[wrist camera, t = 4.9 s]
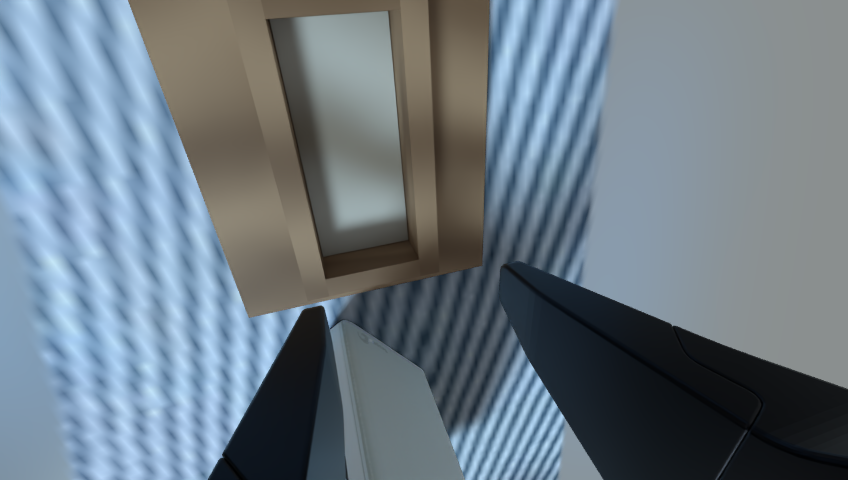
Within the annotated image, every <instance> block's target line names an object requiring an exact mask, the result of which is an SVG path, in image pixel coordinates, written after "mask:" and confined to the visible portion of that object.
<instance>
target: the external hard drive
mask: <svg viewBox="0 0 848 480" xmlns="http://www.w3.org/2000/svg"><path fill="white" fill-rule="evenodd" d="M330 333H331V338H332V343H333V349H334V355H335V361H336V367H337V373H338V379H339V386H340V392H341V398H342V405H343V416H344V440H345V457H346V464H347V472H348V479H349V480H465V478H464V476H463V473H462V470H461V468H460V465H459V462H458V460H457V457H456V455H455V452H454V449H453V447H452V444H451V441H450V439H449V436H448V434H447V431H446V428H445V426H444V423H443V420H442V418H441V415H440V413H439V410H438V407H437V405H436V402H435V399H434V397H433V394H432V391H431V389H430V386H429V384H428V381H427V379H426V376H425V373H424V371H423V370H422V369H421V368H420V367H418V366H417V365H415V364H414V363H412V362H411V361H409V360H408V359H406V358H405V357H403V356H402V355H400V354H399V353H397V352H396V351H394V350H393V349H391V348H390V347H388V346H387V345H385V344H384V343H383V342H381V341H380V340H378V339H377V338H375V337H374V336H372V335H370V334H369V333H368V332H366V331H364V330H363V329H361V328H360V327H358V326H357V325H355V324H354V323H352V322H350V321H347V320H342V321H341V322H339V323H337V324H336V325H335V326H334V327H333V328H332V329H330Z"/></svg>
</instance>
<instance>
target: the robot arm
mask: <svg viewBox="0 0 848 480" xmlns="http://www.w3.org/2000/svg"><path fill="white" fill-rule="evenodd" d="M499 297H500V301H501V304H502V306H503V308H504V310H505V312H506V314H507V316H508V318H509V320H510V322H511V325H512V327H513V329H514V331H515V333H516V335H517V337H518V339H519V341H520V343H521V345H522V348H523V350H524V352H525V354H526V355H527V357H528V359H529V361H530V363H531V364H532V366H533V368H534V369H535V371H536V372H537V374H538V376H539V377H540V379H541V380H542V382H543V384H544V385H545V387H546V388H547V390H548V392H549V393H550V395H551V396H552V398H553V400H554V401H555V403H556V404H557V406H558V408H559V409H560V411H561V412H562V414H563V416H564V417H565V419H566V420H567V422H568V423H569V425H570V427H571V428H572V430H573V431H574V433H575V435H576V436H577V438H578V440H579V441H580V443H581V444H582V446H583V448H584V449H585V451H586V452H587V454H588V456H589V457H590V459H591V460H592V462H593V464H594V465H595V467H596V468H597V470H598V472H599V473H600V475H601V476H602V478H603V480H848V389H846V388H844V387H840V386H838V385H835V384H832V383H829V382H826V381H824V380H821V379H818V378H815V377H812V376H809V375H806V374H803V373H801V372H797V371H795V370H792V369H789V368H786V367H783V366H781V365H778V364H775V363H772V362H769V361H766V360H763V359H760V358H758V357H755V356H752V355H749V354H747V353H744V352H741V351H738V350H736V349H733V348H730V347H727V346H725V345H722V344H720V343H717V342H715V341H712V340H710V339H707V338H704V337H702V336H699V335H697V334H694V333H692V332H690V331H687V330H685V329H682V328H680V327H678V326H673V327H672V325H671V324H670V323H668V322H665V321H663V320H660V319H658V318H656V317H653V316H651V315H648V314H646V313H644V312H641V311H638V310H636V309H634V308H631V307H629V306H626V305H624V304H622V303H619V302H617V301H615V300H612V299H610V298H607V297H605V296H602V295H600V294H597V293H595V292H593V291H590V290H588V289H586V288H583V287H581V286H578V285H576V284H573V283H571V282H569V281H566V280H564V279H561V278H559V277H557V276H554V275H552V274H549V273H547V272H544V271H542V270H540V269H537V268H535V267H532V266H530V265H528V264H525V263H523V262H520V261H515V262H511V263H507V264H503V265H502V266H501V269H500V284H499ZM222 456H223V458H220V459H219V460H218V462H217V464H216V466H215V468H214V469H213V471H212V473H211V475H210V476H209V478H208V480H349V479H348V472H347V464H346V457H345V440H344V416H343V405H342V398H341V392H340V386H339V379H338V373H337V367H336V361H335V355H334V349H333V343H332V338H331V333H330V329H329V325H328V321H327V317H326V313H325V309H324V307H323V306H316V307H312V308H307V309H304V310H303V311H302V312H301V314H300V316H299V318H298V319H297V321H296V323H295V325H294V327H293V328H292V330H291V332H290V334H289V336H288V337H287V339H286V341H285V343H284V344H283V346H282V348H281V350H280V352H279V353H278V355H277V357H276V359H275V361H274V362H273V364H272V366H271V368H270V370H269V371H268V373H267V375H266V377H265V378H264V380H263V382H262V384H261V386H260V387H259V389H258V391H257V393H256V395H255V396H254V398H253V400H252V402H251V404H250V405H249V407H248V409H247V411H246V412H245V414H244V416H243V418H242V420H241V421H240V423H239V425H238V427H237V429H236V430H235V432H234V434H233V436H232V438H231V439H230V441H229V443H228V445H227V446H226V448H225V450H224V452H223V454H222Z"/></svg>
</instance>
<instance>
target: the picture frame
mask: <svg viewBox="0 0 848 480" xmlns="http://www.w3.org/2000/svg"><path fill="white" fill-rule="evenodd" d="M128 2H129V4H130V7H131V10H132V12H133V15H134V17H135V20H136V23H137V25H138V28H139V31H140V33H141V36H142V38H143V41H144V44H145V46H146V49H147V52H148V54H149V57H150V59H151V62H152V65H153V67H154V70H155V73H156V75H157V78H158V80H159V83H160V86H161V88H162V91H163V94H164V96H165V99H166V101H167V104H168V107H169V109H170V112H171V115H172V117H173V120H174V122H175V125H176V128H177V130H178V133H179V136H180V138H181V141H182V143H183V146H184V149H185V151H186V154H187V157H188V159H189V162H190V164H191V167H192V170H193V172H194V175H195V178H196V180H197V183H198V185H199V188H200V191H201V193H202V196H203V199H204V201H205V204H206V206H207V209H208V212H209V214H210V217H211V220H212V222H213V225H214V227H215V230H216V233H217V235H218V238H219V241H220V243H221V246H222V248H223V251H224V254H225V256H226V259H227V262H228V264H229V267H230V270H231V272H232V275H233V277H234V280H235V283H236V285H237V288H238V291H239V293H240V296H241V298H242V301H243V304H244V306H245V309H246V312H247V314H248V317H249V318H250V317H255V316H259V315H263V314H268V313H272V312H277V311H281V310H286V309H290V308H295V307H299V306H304V305H308V304H313V303H317V302H322V301H326V300H331V299H335V298H340V297H344V296H349V295H353V294H358V293H362V292H366V291H371V290H375V289H380V288H384V287H389V286H393V285H398V284H402V283H407V282H411V281H416V280H420V279H425V278H429V277H434V276H438V275H443V274H447V273H452V272H456V271H460V270H465V269H469V268H474V267H478V266H482V257H483V220H484V183H485V147H486V110H487V74H488V37H489V0H128Z"/></svg>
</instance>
